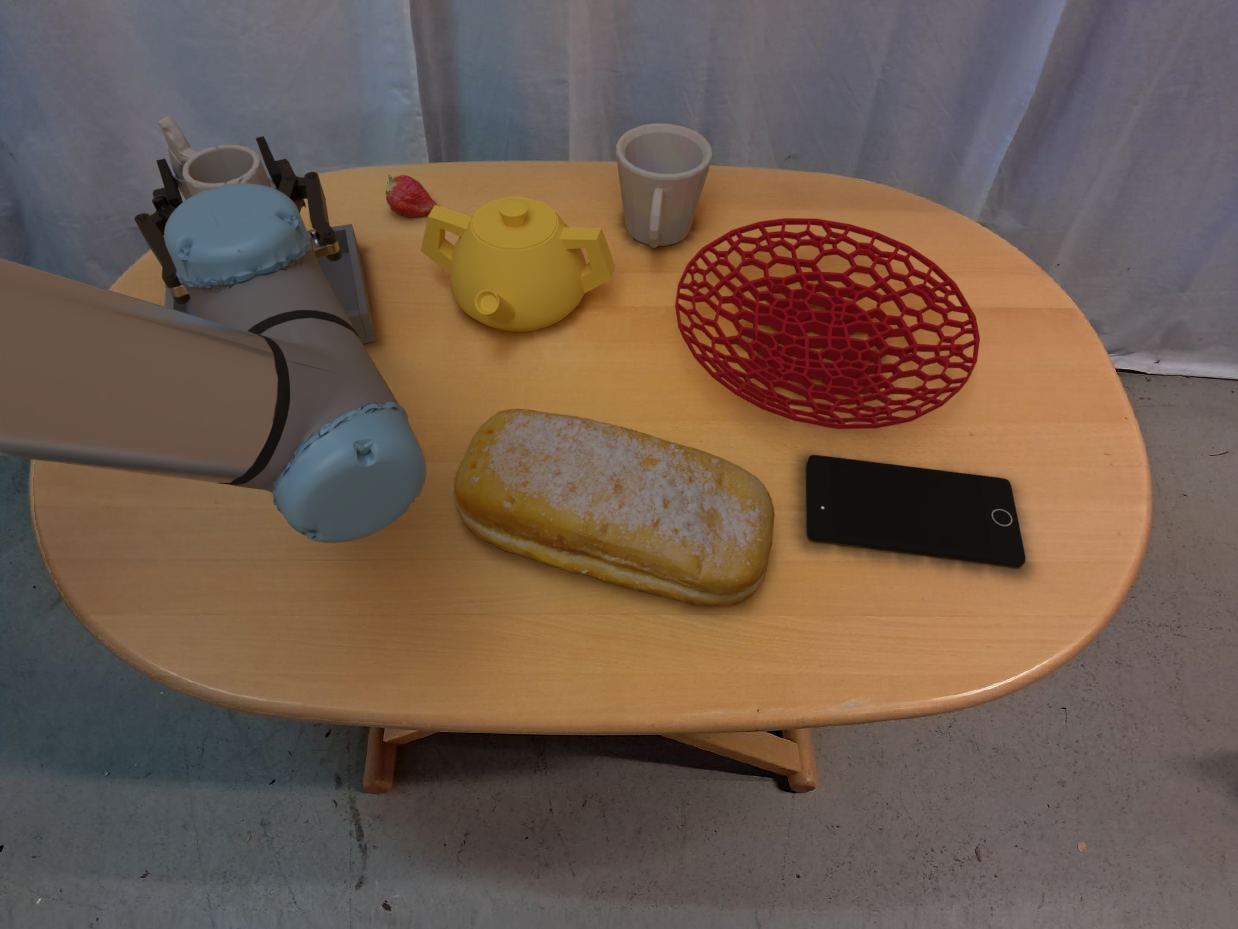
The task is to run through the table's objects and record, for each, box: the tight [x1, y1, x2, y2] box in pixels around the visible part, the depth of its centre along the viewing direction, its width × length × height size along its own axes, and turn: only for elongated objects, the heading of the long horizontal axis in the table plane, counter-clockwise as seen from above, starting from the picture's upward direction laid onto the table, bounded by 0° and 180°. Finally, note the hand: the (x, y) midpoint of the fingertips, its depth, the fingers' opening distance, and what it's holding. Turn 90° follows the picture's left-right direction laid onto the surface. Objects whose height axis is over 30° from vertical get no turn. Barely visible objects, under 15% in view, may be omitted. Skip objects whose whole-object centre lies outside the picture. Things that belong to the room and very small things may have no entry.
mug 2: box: [615, 122, 714, 249], centre depth 88 cm, size 10×15×10 cm
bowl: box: [674, 217, 981, 430], centre depth 80 cm, size 29×30×5 cm
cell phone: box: [805, 454, 1026, 569], centre depth 70 cm, size 9×18×1 cm, turn 82°
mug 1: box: [157, 115, 277, 201], centre depth 72 cm, size 8×12×12 cm, turn 57°
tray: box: [164, 223, 377, 345], centre depth 81 cm, size 19×15×4 cm
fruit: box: [384, 173, 438, 218], centre depth 92 cm, size 4×6×5 cm
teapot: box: [420, 196, 616, 333], centre depth 80 cm, size 20×18×11 cm
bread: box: [453, 408, 776, 608], centre depth 65 cm, size 13×26×8 cm, turn 76°
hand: (216, 161), depth 74 cm, fingers closed on mug 1, 8 cm apart
